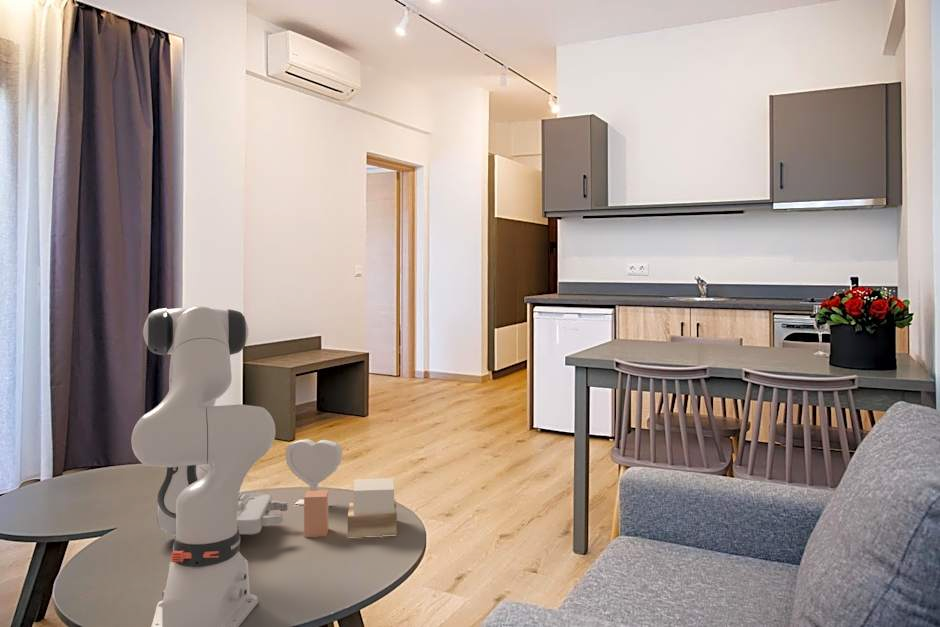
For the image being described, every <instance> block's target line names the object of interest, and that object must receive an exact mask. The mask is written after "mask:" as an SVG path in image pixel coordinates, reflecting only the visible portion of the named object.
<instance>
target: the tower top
mask: <svg viewBox="0 0 940 627" xmlns="http://www.w3.org/2000/svg"><path fill="white" fill-rule="evenodd" d="M394 484H395V483H394V477H387V478H383V477H382V478H360V479H358V478H357V479H356V478H355V479H354V483H353V491H352V492H353V495H352V497H353V500H352V501H353V506H354V515H360V514H384V513H394V500H395V486H394Z"/></svg>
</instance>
